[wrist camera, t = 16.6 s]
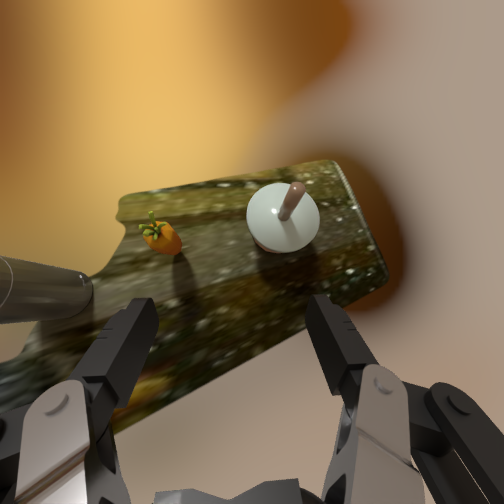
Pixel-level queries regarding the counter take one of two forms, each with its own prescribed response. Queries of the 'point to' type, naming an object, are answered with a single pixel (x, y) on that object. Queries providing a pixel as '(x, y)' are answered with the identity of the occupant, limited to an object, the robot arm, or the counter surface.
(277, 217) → the celadon lid
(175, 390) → the counter surface
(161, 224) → the carrot
